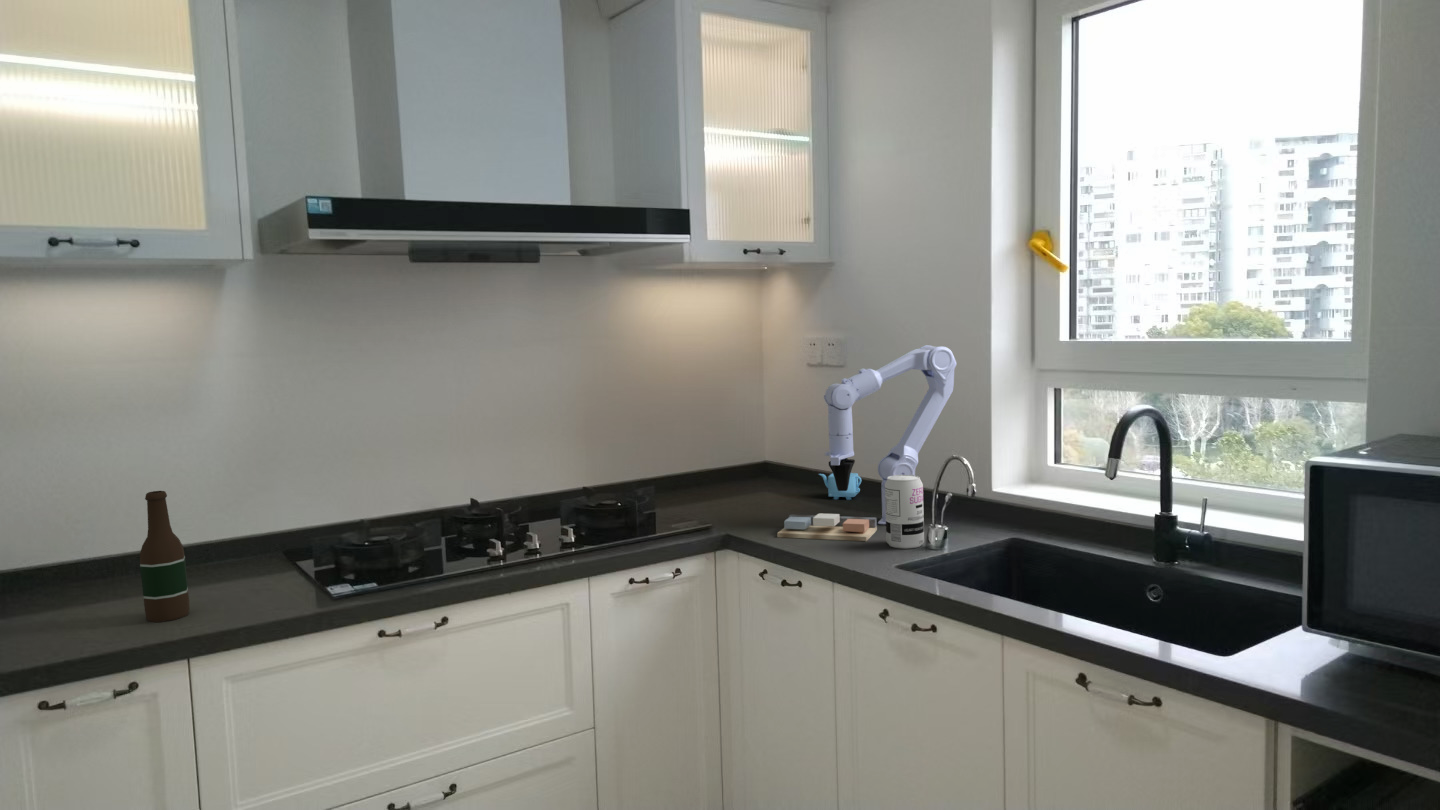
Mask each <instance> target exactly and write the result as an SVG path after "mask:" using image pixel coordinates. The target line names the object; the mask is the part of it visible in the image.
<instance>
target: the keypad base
mask: <svg viewBox="0 0 1440 810" xmlns="http://www.w3.org/2000/svg"><path fill="white" fill-rule="evenodd" d="M816 515H817V514H816ZM816 515H814V514H812V515H811V514H792V513H791V514H789V515H788V518H789V517H811V525H810V526H809V527H808V528H806V529H805V530H804V529H785V528H784V527H783V528H782V529H780V530H779V531H778V532H777V535H776V536H777V538H789V539H809V540H810V539H811V540H813V539H814V540H830V541H831V540H833V541H834V540H835V541H852V542H853V541H854V542H855V541H857V542H868V541H869V539H870V538H871V537H872V536H873V535H874V534H875V533H876V532H877V530H878V522H877V521H878V520H877V519H878V518H877V517H875V516H874V517H869V516H868V517H867V516H845V515H843V516H842V515H841V516H840V515H839V516H840V522H839V523H838V524H836V525H835V526H813V518H814V517H815V516H816ZM788 518H787V519H788ZM847 519H869V528H868V529H867V530H866V531H865V532H852V531H843V523H844V522H845V521H846V520H847Z"/></svg>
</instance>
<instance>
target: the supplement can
mask: <svg viewBox="0 0 1440 810" xmlns="http://www.w3.org/2000/svg"><path fill="white" fill-rule="evenodd" d="M885 506H886V524H885V537H886V539H885V540H886V543H887V544H888V545H889V547H892V548H895V549H905V550H906V549H915V548H919V547H921V546H922V545H923V544H924V543H925V521H924V520H925V519H924V517H925V516H924V511H925V510H924V484H923V482H922V480H921V477H920V476H918V475H916V474H915V475H893V476H889V477H888V479H887V481H886V483H885Z"/></svg>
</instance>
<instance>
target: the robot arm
mask: <svg viewBox="0 0 1440 810" xmlns="http://www.w3.org/2000/svg"><path fill="white" fill-rule="evenodd" d="M957 365H958V364H957V360H956V358H955V356H954V353H953V351H952V350H951V349H950V348H948V347H947V346H933V345H931V344H928V345H922V346H921V347H920V348H916V349H912V350H910V351H909V352H907V353H905V354H904V355H902V356H899V357H897V358H896V359H894V360H892V361H891V362H889V363H887V364H885V365H884V366H881V367H880V368H878V369H872V368H863V367H862V368H861V369H859V370H858V373H857V374H855V375H852V376H850V377H848V378H846V377H844V378H842V379H841V383H833V384H830V385H829V386H828V387H827V389H826V390H825V394H824V395H823V398H824V402H825V403H826V404H827V411H828V414H827V418H828V419H827V421H828V425H827V426H828V447H829V449H828V451H825V452H824V456H826V457H827V456H828V457H829V459H830V460H829V461H828V467H829V468H830V470H831V471H832V473H833V475H834V478H835V482H836V486H837V489H838V491H847V489H848V485H849V479H850V474H851V473H852V470H853V467H854V465H855V462H856V460H855V459H851V457H854V456H855V451H854V431H853V426H854V425H853V411H852V410H853V405H854V404H855V402H857V401H860V400H862V399H864V398H866V397H868V396H869V395H871V394H874V393H875V392H878V391H879V390H880V389H881V388H882V385H883V383H884V382H886V381H888V380H891V379H893V378H896V377H897V376H899V375H900V376H901V375H902V374H905V373H907V372H909V371H911V370H920V372H922V374H923V375H924V376H925V379H926V382H927V384H928V390H927V391H926V392H925V395H924V396H923V398H922V400H921V402H920V403H919V405H918V407H917V409H916V410H915V413H914V414H913V416H912V418H911V420H910V422H909V424H908V426H907V427H906V428H905V431H904V432H903V434H902V436H901V438H900V440H899V441H898V443H897V444H896V445H895V446H893V447H892V448H890V450H889V452H888V453H887V454H886V455H885V456H884V457H882V458H880V459H881V460H880V461H879V462H878V465H877V473H878V475H879V477H880V478H881V480H882V481H881V487H880V488H881V514H882V515H881V516H882V517H881V519H879V520H878V522H877V525H886V506H885V483H886V481H887V479H888V477H889V476H893V475H915V476H916V468H917V466H918V464H919V453H920V451H921V449H922V447H924V443H925V442H926V440H927V438H928V436H929V435H930V433H931V431H932V429H933V428H934V426H935V424H936V423H937V420H938V419H939V417H940V414H941V413H942V411H943V409H944V408H945V406H946V404H947V402H948V400H949V399H950V396H951V395H952V394H953V391H954V385H955V369H956V367H957ZM849 458H850V459H849Z"/></svg>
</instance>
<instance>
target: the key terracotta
mask: <svg viewBox="0 0 1440 810" xmlns="http://www.w3.org/2000/svg"><path fill="white" fill-rule="evenodd" d="M868 528H869V519H847V520H846V521H845V522H844V523H843V531H852V532H865V531H866V530H867V529H868Z"/></svg>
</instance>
